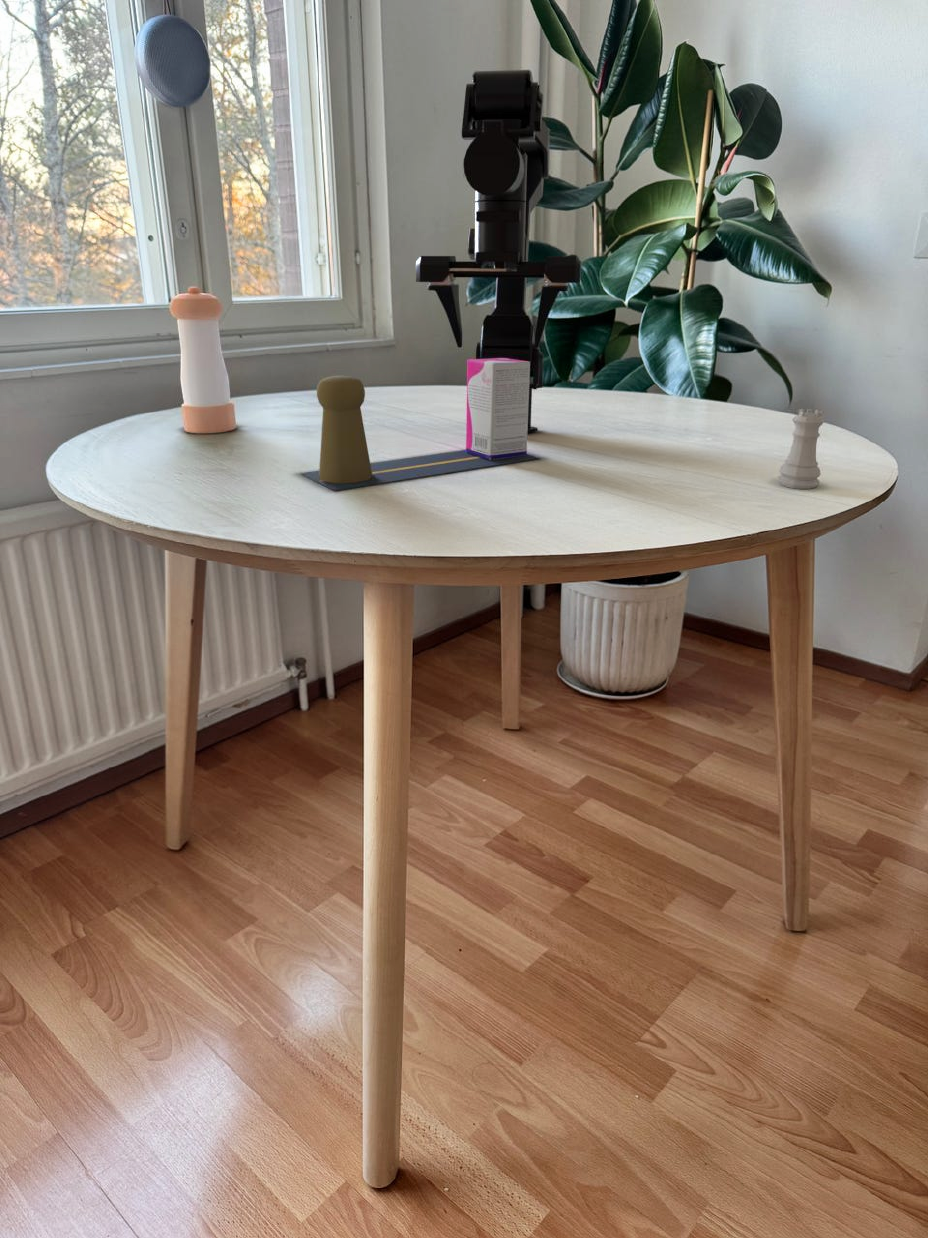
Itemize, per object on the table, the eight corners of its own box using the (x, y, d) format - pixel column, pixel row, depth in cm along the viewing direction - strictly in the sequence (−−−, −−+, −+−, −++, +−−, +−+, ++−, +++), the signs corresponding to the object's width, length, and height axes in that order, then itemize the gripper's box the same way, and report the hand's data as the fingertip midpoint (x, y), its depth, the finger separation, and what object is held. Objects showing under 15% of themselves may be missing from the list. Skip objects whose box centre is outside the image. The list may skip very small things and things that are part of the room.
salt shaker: (233, 432, 118) (218, 287, 110) (180, 434, 117) (160, 287, 109) (238, 423, 124) (223, 285, 117) (188, 424, 123) (170, 285, 116)
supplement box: (528, 455, 104) (531, 360, 100) (489, 461, 101) (491, 363, 97) (502, 447, 109) (503, 355, 104) (464, 452, 106) (464, 358, 101)
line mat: (497, 445, 110) (497, 445, 110) (540, 458, 103) (540, 457, 103) (300, 474, 96) (300, 473, 96) (334, 491, 89) (334, 490, 89)
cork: (320, 470, 97) (314, 372, 92) (372, 469, 97) (368, 372, 93) (316, 483, 91) (309, 380, 87) (372, 482, 92) (367, 379, 87)
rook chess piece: (814, 491, 89) (828, 416, 86) (771, 486, 91) (783, 411, 88) (822, 482, 92) (836, 409, 89) (781, 477, 95) (792, 405, 91)
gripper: (584, 205, 99) (576, 342, 106) (430, 206, 102) (432, 340, 108) (584, 200, 89) (576, 351, 96) (413, 201, 92) (416, 349, 98)
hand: (497, 347), depth 100 cm, fingers open, 9 cm apart
